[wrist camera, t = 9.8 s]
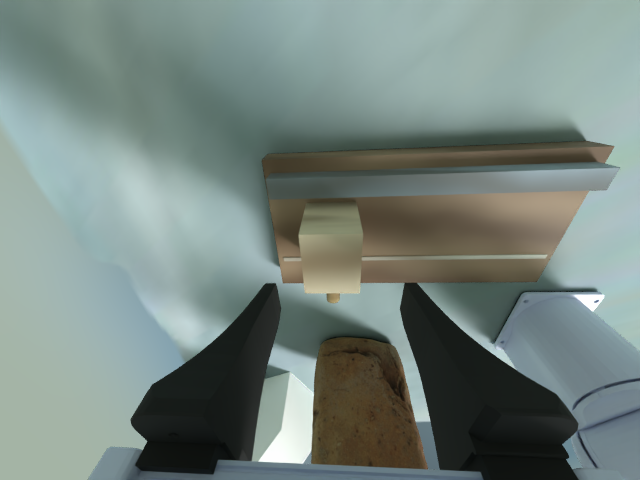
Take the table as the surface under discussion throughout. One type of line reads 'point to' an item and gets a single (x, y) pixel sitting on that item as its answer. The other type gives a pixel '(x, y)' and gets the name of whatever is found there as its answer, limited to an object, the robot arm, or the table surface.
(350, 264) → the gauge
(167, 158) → the table surface
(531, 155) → the board
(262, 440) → the corner bracket
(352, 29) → the table surface
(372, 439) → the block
